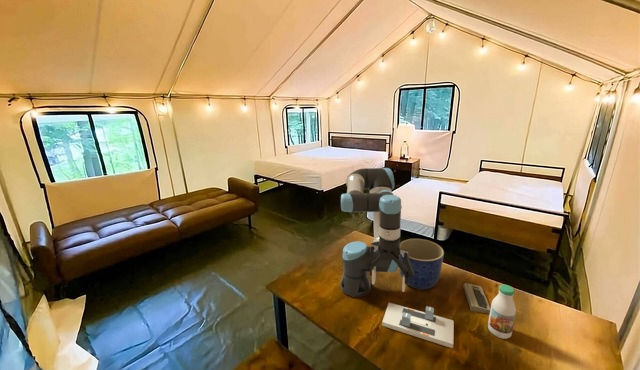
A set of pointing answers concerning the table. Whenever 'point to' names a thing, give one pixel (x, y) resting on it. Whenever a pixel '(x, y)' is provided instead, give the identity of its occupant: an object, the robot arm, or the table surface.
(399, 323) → the switch board
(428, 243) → the planter
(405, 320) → the tab near
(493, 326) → the milk bottle
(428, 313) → the tab far
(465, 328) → the table surface
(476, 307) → the computer
